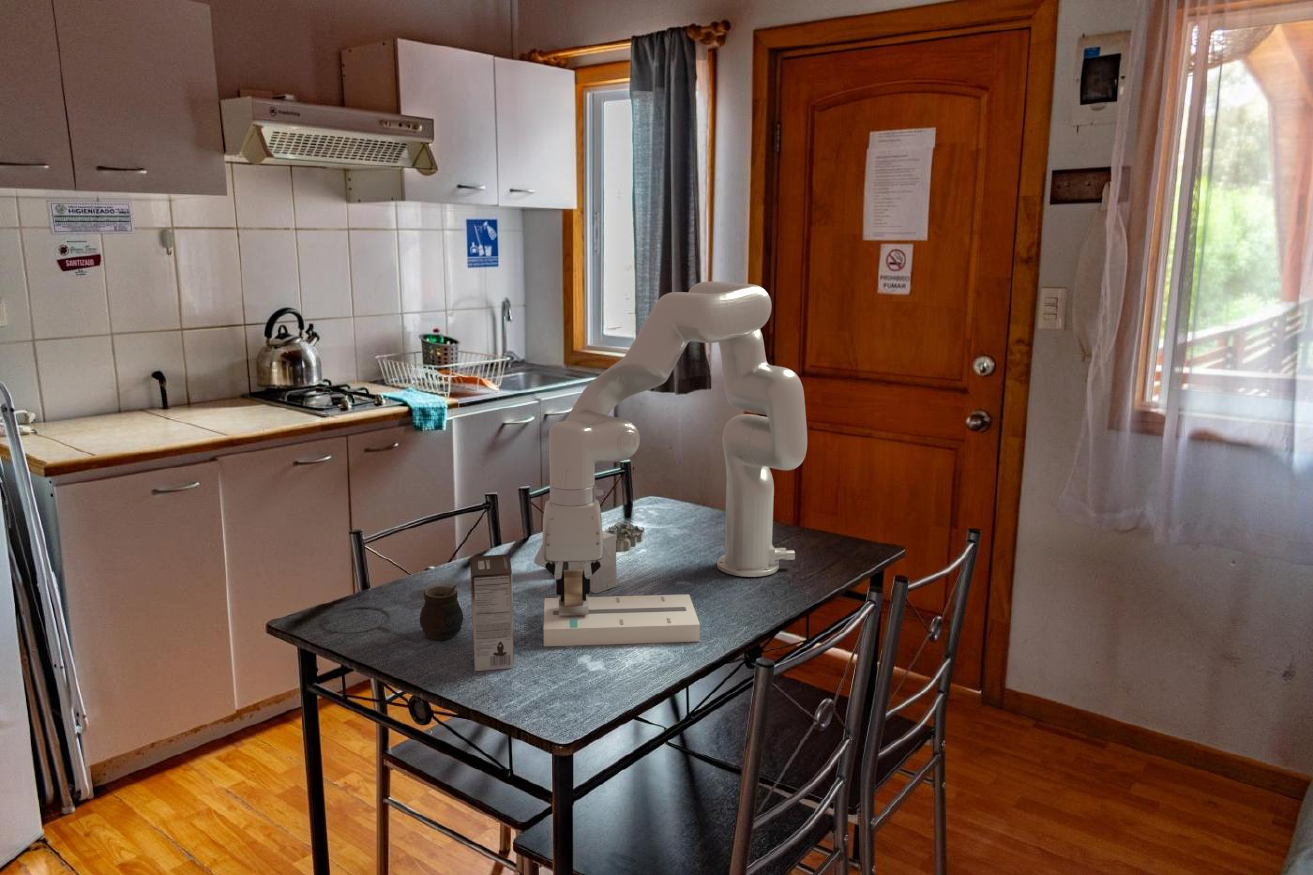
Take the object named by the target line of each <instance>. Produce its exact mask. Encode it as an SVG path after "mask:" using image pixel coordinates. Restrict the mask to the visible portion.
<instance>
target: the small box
mask: <svg viewBox="0 0 1313 875" xmlns="http://www.w3.org/2000/svg"><path fill="white" fill-rule="evenodd" d="M604 531H605V530H602V535H603V543H604V545H605V547H606V548H607V550H608V552H609V554H610V555H611V559H612V560H611V562H609V563H607V564H606V565H604V566H601V567H600V568H599V569H598V570H597V571H596V572H595V573H594V574H593V575H592V577H591V578H590V593H593V594H599V593H602V592H605V591H607V590H610V589H612V588H615V587H617V585H618V584H617V583H618V582H617V576H618V575H617V550H616V535H614V534H610V533H607V532H604ZM590 562H591V563H592V562H593V561H590ZM568 567H569V570H582V574H583V571H584V564H583V561H581V562H568Z"/></svg>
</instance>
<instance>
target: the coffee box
mask: <svg viewBox="0 0 1313 875" xmlns="http://www.w3.org/2000/svg"><path fill="white" fill-rule="evenodd" d="M469 560H470V564H469V565H470V596H471V598H470V601H471V605H470V606H471V628H472V630H471V631H472V647H473V662H474V672H483V671H485V672H486V671H496V670H505V669H506V670H508V669H514V668H515V656H514V655H515V652H514V651H515V648H514V641H515V640H514V603H513V601H514V600H513V597H514V596H513V594H514V593H513V570H512V563H511V556H510V553H505V554H503V553H501V554H491V555H490V554H489V555H487V554H486V555H480V556H479V555H478V556H477V555H476V556H470V559H469Z"/></svg>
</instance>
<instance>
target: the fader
mask: <svg viewBox="0 0 1313 875" xmlns="http://www.w3.org/2000/svg"><path fill="white" fill-rule="evenodd" d="M564 592H565V601H564V602H561V595H559V596H558V598H559V616H564V615H588V597H589V595H586V601H583V600H582V570H564Z"/></svg>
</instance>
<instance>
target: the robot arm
mask: <svg viewBox="0 0 1313 875" xmlns="http://www.w3.org/2000/svg"><path fill="white" fill-rule="evenodd" d="M771 313H772V299H771V296H770V295H769V293H768V292H767V291H766V289H764V288H763V287H762V286H760V285H757V284H751V283H741V282H740V283H738V282H727V281H726V282H725V281H702V282H698V283H695V284H694V285H692V286H691V287H690V289H689V290H688V292H683V291H674V292H667V293H665V294H664V295H662V296H660V298H659V299H658V300H657V301H656V303H655V304H654V306H653V308H652V309H651V311H650V313H649V314H648V316H647V318H646V320H645V321H644V322H643V325H642V326H641V328H640V330H639V332H638V333H637V336H636V337H635V339H634V341H633V342H632V343H631V345H630V347H629V349H628V351H627V352H626V353H625V355H624V357H622V358H621V359H620V360H618V361H616V362H615V363H614V364H612V365H611V366H609V367H608V368H607V369H606V370H605V371H603V372H602V373H600V374H599V375H598V376H596V377H595V378H594V379H593V380H592V381H591V382H590V383H589V384H588V385H587V386H586V387H585V388H584V390H583V391H582V392H581V393H580V395H579V397H578V398H577V400H576V402H575V404H574V405H573V407H572V408H571V411H570V412H569V414H568V416H567V419H566V420H564V421H561V420H560V421H558V422H555V423H553V424H552V425H551V426H550V428H549V430H548V431H549V432H548V450H549V451H548V452H549V453H548V454H549V455H548V460H549V462H548V463H549V464H548V465H549V499H548V500H546V501H545V505H544V511H543V516H542V517H543V520H542V544H541V545H540V547H539V549H538V551H537V553H536V554H535V556H534V558H533V563H534V564H535V565H537V566H539V567H542V568H544V569H546V571H548V572H549V573H550V574H551V575H552V576H553V577H554V579H555V580H556V581H555V582H556V588H555V590H556V595H555V596H561V602H564V601H565V592H564V575H563V571H562V566H563V562H581V561H583V564H584V571H583V574H582V600H583V601H586V596H587V595H591V591H590V578H591V577H592V575H593V574H594V573H595V572H596V571H597V570H598V569H599V568H600V567H601V566H604V565H606V564H607V563H609V562H611V560H612V559H611V555H610V554H609V552H608V550H607V548H606V547H605V545H604V543H603V535H602V531H603V520H602V512H601V511H602V510H601V506H600V502H599V500H598V499H597V498H598V497H601V496H604V487H599V486H597V485H596V484H595V482H596V481H595V480H596V479H595V478H596V477H595V474H596V472H595V471H596V470H595V465H596V464H598V463H619V462H623V461H626V460H628V459H630V458H631V457H633V456H634V454H635V453H636V452H637V451H638V449H639V446H640V442H641V436H640V433H639V430H638V428H637V427H636V426H635V424H633V423H632V422H631V421H629V420H627V419H625V418H621V417H617V416H612V415H610V413H611V412H612V410H613V409H614V408H615V407H616V406H617V405H619V404H620V403H622V401H625V400H626V399H629V397H632V396H635V395H637V394H640V393H644V392H647V391H649V390H652V389H655V388H657V387H659V386H661V385H663V384H665V383H666V382H667V381H668V380H669V377H670V376H671V374H672V372H673V370H674V369H675V367H676V365H677V363H678V361H679V359H680V357H681V356H682V354H683V352H684V351H685V349H686V347H687V345H688V344H689V342H695V343H703V344H714V343H715V344H716V343H718V345H719V350H720V356H721V357H720V358H721V367H722V376H723V387H724V393H725V398H726V401H727V403H728V404H729V405H730V407H732V408H733V409H737V410H739V411H743V412H748V413H747V414H745V413H744V414H738V415H735V416H733V417H732V418H731V419H729V420H728V421H727V423H726V424H725V426H724V428H723V431H722V436H721V437H722V438H721V440H722V450H723V453H724V454H723V455H724V459H725V460H724V461H725V468H726V469H725V472H726V487H725V488H726V492H725V493H726V495H725V526H724V527H725V531H724V533H725V534H724V554H723V555H721V556H720V557H718V558H717V560H716V567H717V569H719V571H721V572H722V573H724V574H728V575H732V576H737V577H742V578H743V577H744V578H757V577H758V578H760V577H765V576H769V575H772V574H775V573H776V572H777V571H778V570H779V568H780V560H785V561H787V560H789V561H790V560H793V561H794V560H795V559H796V552H795V550H793V549H789V550H787V548H786V547H778V548H777V547H776V548H775V546H774V545H773V527H774V521H773V520H774V496H775V485H774V483H775V482H774V479H773V478H774V477H773V475H772V471H771V469H774V470H781V471H792V470H795V469H796V468H798V467H799V466H800V465H801V464H802V463H803V461H804V460H805V458H806V454H807V450H808V428H807V414H806V412H807V411H806V403H805V402H806V401H805V399H806V398H805V393H804V386H803V384H802V381H801V379H800V377H799V376H798V374H797V373H796V372H794V371H793V370H792V369H790V368H787V367H783V366H779V365H778V366H777V365H771V364H770V363H768V361H767V356H766V351H765V350H766V349H765V343H764V338H763V333H762V331H761V328H763V327H764V326H765V325H766V324H767V322H768V321H769V318H770V316H771ZM749 413H753V414H749ZM757 414H759V415H757ZM761 415H762V416H761ZM764 415H765V416H764ZM590 561H593V562H592V563H591V562H590ZM553 562H555V564H554V563H553Z"/></svg>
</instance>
